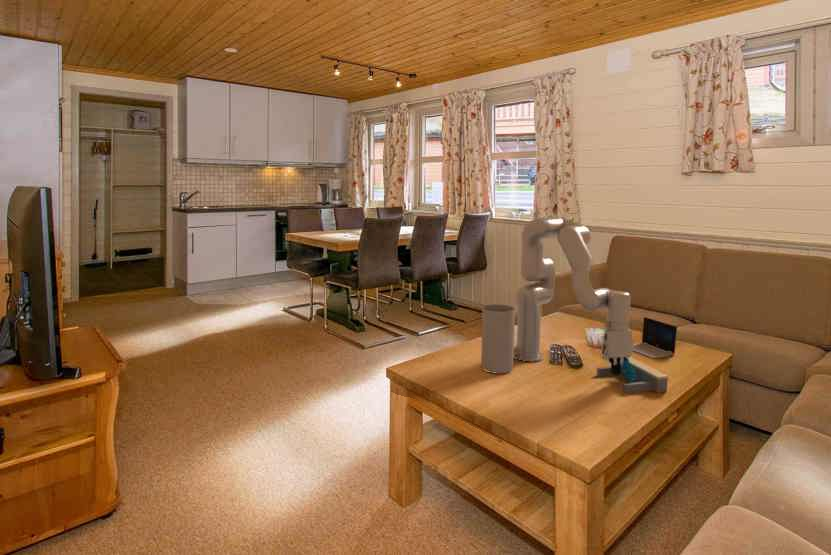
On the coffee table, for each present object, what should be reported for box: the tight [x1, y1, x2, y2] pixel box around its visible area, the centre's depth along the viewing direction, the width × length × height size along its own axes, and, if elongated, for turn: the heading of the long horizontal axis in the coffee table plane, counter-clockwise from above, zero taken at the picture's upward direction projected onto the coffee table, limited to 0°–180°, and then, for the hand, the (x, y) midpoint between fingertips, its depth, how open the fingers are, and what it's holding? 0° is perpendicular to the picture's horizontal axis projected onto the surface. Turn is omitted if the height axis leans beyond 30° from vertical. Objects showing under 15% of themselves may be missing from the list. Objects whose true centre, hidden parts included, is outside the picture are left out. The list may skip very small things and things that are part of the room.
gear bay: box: [596, 356, 669, 394], centre depth 189 cm, size 15×22×6 cm
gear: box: [620, 359, 636, 383], centre depth 188 cm, size 11×6×10 cm, turn 3°
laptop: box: [633, 316, 678, 359], centre depth 224 cm, size 18×12×13 cm
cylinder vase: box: [480, 303, 516, 374], centre depth 201 cm, size 12×12×25 cm
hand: (615, 374), depth 187 cm, fingers closed
